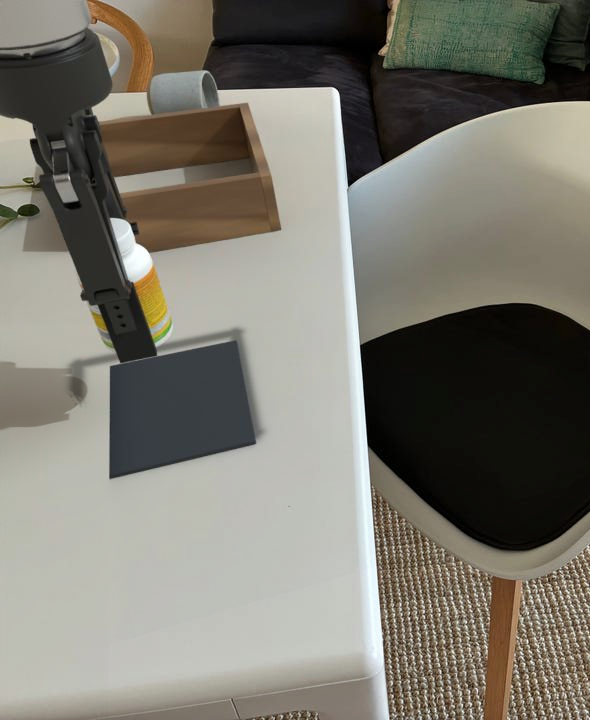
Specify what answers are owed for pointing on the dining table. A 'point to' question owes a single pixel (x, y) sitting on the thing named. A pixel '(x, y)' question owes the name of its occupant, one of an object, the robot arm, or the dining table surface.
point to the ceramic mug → (182, 92)
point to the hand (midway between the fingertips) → (137, 332)
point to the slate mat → (177, 408)
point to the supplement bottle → (138, 287)
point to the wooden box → (196, 199)
